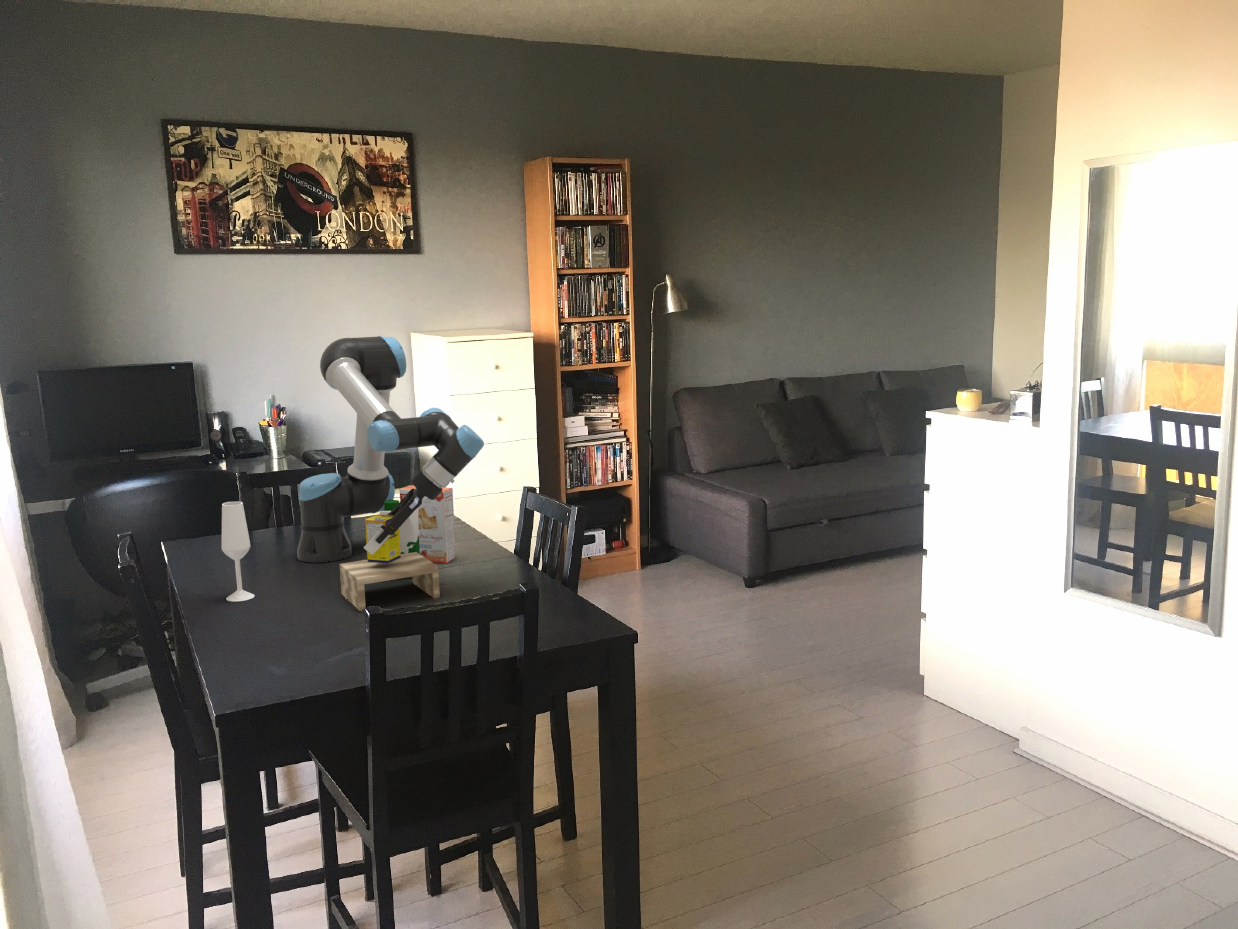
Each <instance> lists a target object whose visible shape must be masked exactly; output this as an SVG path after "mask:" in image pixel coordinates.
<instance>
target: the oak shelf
mask: <svg viewBox="0 0 1238 929" xmlns="http://www.w3.org/2000/svg"><path fill="white" fill-rule="evenodd" d="M338 567H339V579H340V580H339V581H340V591H341V592H340V593H341V594H342V595H343V596H344V597H345V598H344V597H343V596H342V595H341V594H340V595H341V596H342V597H343V598H344V599H345V600H347V599H348V600H347V601H348V602H349V603H350V602H351V603H352V604H353V605H354V606H355V607H356V608H357V609H358V610H359V611H361V610H362V609H365V608H366V607H367V606H366V597H365V596H366V591H365V585H368V584H369V585H370V584H374V583H380V582H385V581H387V582H388V581H391V580H392V581H393V580H398V579H399V580H400V579H407V578H406V577H411V580H412V581H411V582H413V583H412V584H413V585H415V586H416V585H417V586H416V587H418V588H419V589H421V590H422V591H423V592H424V591H425V594H428V595H429V596H430V597H431V596H432V597H431V598H433V599H438V598H440V574H439V573H440V572H439V565H437V564H436V563H434V562H431V561H429V560H428V559H426V558H425V557H423V556H422V555H420V554H419V553H417V552H414V553H408V554H401V558H399V559H397V560H395V561H393V562H391V563H389V564H387V563H375V562H368V559H362V560H357V561H350V562H343V563H339V566H338ZM351 603H350V604H351ZM352 604H351V605H352ZM353 605H352V606H353ZM354 606H353V607H354ZM355 607H354V608H355ZM356 608H355V609H356ZM357 609H356V610H357ZM358 610H357V611H358ZM359 611H358V612H359ZM361 612H362V611H361Z"/></svg>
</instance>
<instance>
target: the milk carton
mask: <svg viewBox="0 0 1238 929" xmlns="http://www.w3.org/2000/svg"><path fill="white" fill-rule="evenodd" d="M399 502H400V499H393V500H387V501H384V509H383V510H382V511H379V515H387V514H388V513H390V512H391V511H392V510H393V509H394V508H395V507H396V506H397V504H398V503H399ZM418 509H419V508H417V509H416V510H415V511H414V512H413V513H412V514H411V515H410V516H409V517H408V519H407V520H406V521H405V522H404V523H403V524H402V525H401V526H400V527H399V537H400V553H401V554H408V553H414V552H417V553H419V554H420V546H419V526H418ZM405 579H412V577H406V578H405Z"/></svg>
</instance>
